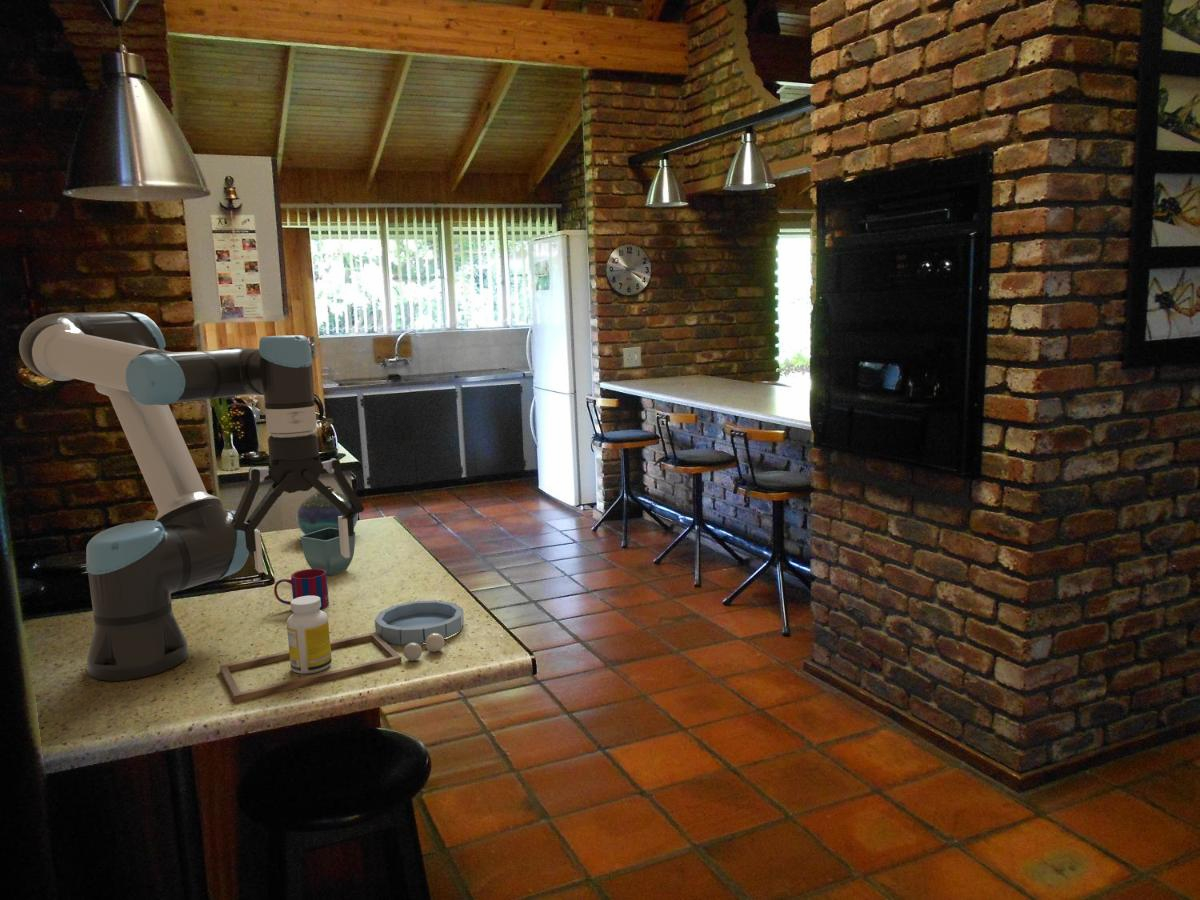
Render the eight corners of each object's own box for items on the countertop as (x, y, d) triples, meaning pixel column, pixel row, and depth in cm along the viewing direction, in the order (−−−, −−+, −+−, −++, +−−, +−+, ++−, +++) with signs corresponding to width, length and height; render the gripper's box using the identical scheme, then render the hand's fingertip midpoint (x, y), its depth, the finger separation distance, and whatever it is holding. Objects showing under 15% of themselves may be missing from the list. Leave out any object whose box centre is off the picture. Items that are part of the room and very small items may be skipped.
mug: (328, 609, 174) (326, 576, 173) (275, 615, 172) (272, 582, 171) (329, 599, 181) (326, 567, 180) (277, 605, 178) (274, 572, 177)
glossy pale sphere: (407, 665, 146) (406, 647, 145) (401, 659, 148) (400, 642, 148) (425, 661, 147) (423, 643, 147) (418, 655, 150) (417, 638, 149)
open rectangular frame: (235, 702, 134) (234, 696, 133) (220, 671, 145) (219, 665, 145) (401, 662, 147) (401, 657, 147) (375, 637, 159) (375, 632, 158)
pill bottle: (340, 662, 148) (334, 595, 146) (314, 677, 142) (308, 608, 140) (308, 657, 150) (303, 591, 148) (282, 672, 144) (275, 604, 142)
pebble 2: (430, 656, 149) (428, 638, 149) (423, 650, 152) (422, 632, 151) (447, 652, 151) (446, 634, 150) (441, 646, 154) (439, 628, 153)
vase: (322, 528, 240) (318, 480, 238) (371, 531, 235) (367, 482, 233) (285, 543, 226) (281, 492, 224) (337, 547, 221) (332, 494, 219)
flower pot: (329, 580, 194) (325, 540, 192) (301, 574, 198) (298, 536, 197) (359, 569, 201) (356, 531, 199) (332, 564, 206) (329, 527, 204)
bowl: (393, 652, 151) (392, 636, 151) (366, 626, 164) (365, 611, 164) (476, 633, 159) (475, 617, 159) (444, 609, 172) (443, 595, 172)
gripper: (211, 444, 130) (225, 583, 134) (377, 428, 143) (385, 555, 147) (203, 438, 137) (217, 571, 140) (363, 423, 150) (371, 545, 153)
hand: (303, 563), depth 143 cm, fingers open, 13 cm apart
